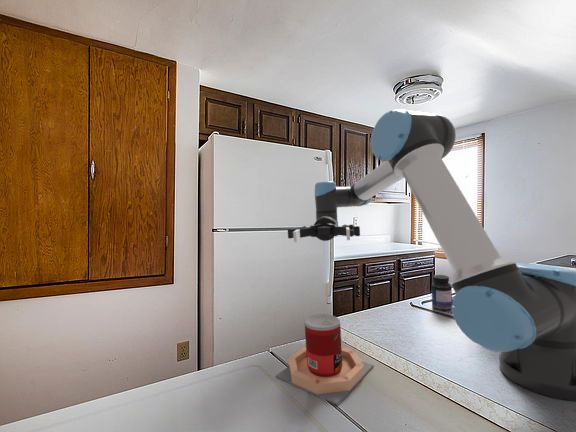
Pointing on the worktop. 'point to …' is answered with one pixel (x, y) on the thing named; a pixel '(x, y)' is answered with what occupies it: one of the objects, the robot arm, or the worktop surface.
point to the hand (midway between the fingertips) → (321, 235)
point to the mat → (331, 397)
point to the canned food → (323, 345)
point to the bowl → (320, 385)
